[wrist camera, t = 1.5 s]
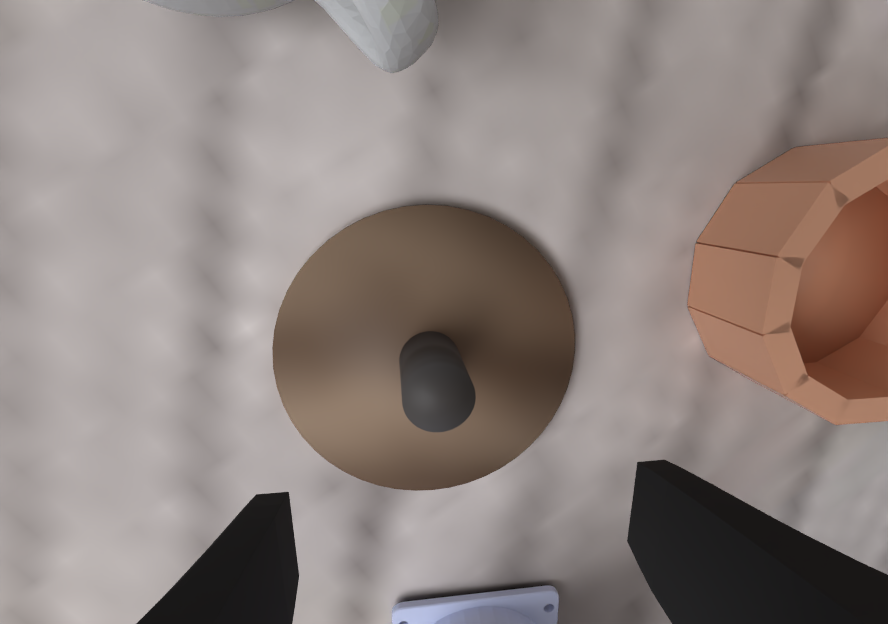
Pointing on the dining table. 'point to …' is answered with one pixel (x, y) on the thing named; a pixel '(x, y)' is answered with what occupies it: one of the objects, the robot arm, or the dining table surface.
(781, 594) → the robot arm
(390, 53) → the teacup
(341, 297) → the lid
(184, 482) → the dining table surface
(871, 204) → the bowl
